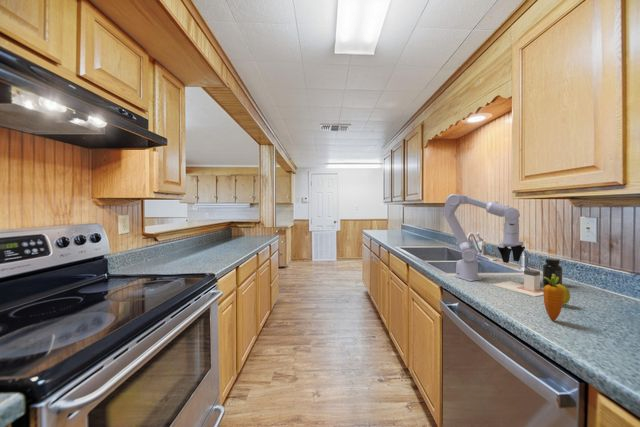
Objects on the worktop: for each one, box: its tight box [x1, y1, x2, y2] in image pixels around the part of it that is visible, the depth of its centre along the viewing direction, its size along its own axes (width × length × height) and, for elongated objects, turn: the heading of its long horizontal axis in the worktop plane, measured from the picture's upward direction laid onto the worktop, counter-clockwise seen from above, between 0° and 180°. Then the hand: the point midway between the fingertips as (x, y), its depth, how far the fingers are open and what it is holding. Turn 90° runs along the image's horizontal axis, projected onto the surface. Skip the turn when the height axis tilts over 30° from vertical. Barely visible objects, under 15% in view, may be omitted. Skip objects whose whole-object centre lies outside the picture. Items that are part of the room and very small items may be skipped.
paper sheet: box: [491, 280, 544, 298], centre depth 118 cm, size 18×13×1 cm
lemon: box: [556, 284, 571, 305], centre depth 99 cm, size 6×6×8 cm
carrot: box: [542, 274, 564, 322], centre depth 85 cm, size 5×5×15 cm
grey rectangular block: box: [523, 269, 541, 291], centre depth 116 cm, size 4×4×8 cm
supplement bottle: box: [542, 258, 563, 286], centre depth 124 cm, size 7×7×12 cm
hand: (511, 261), depth 126 cm, fingers open, 7 cm apart
